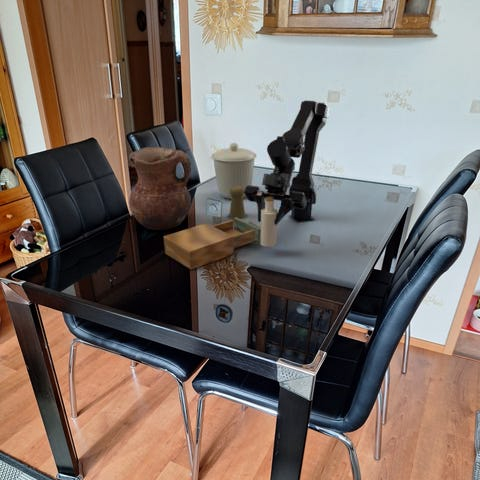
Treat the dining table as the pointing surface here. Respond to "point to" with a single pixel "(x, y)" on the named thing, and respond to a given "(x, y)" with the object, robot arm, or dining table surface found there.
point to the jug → (160, 188)
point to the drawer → (241, 231)
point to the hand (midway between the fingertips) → (267, 222)
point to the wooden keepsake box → (199, 245)
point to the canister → (233, 168)
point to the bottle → (268, 224)
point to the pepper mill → (237, 202)
